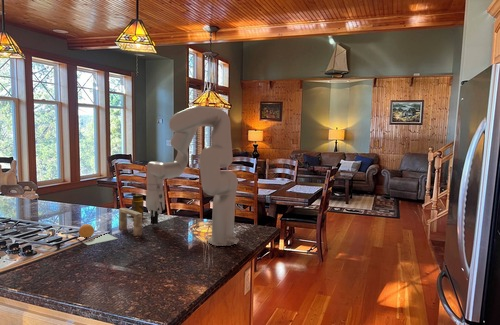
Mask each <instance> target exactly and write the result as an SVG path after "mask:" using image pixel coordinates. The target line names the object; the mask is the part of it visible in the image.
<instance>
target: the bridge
mask: <svg viewBox="0 0 500 325" xmlns="http://www.w3.org/2000/svg"><path fill="white" fill-rule="evenodd" d="M127 216H134V219H133V230H132V231H133V234H132V235H133V236H135V237H136V236H142V234H143V232H142V231H143V218H142V213H139V212H136V211H133V210H132V209H129V208H127V207H121V208H118V229H119V230H125V229H127V228H128V218H127Z"/></svg>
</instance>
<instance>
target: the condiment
mask: <svg viewBox="0 0 500 325" xmlns="http://www.w3.org/2000/svg"><path fill="white" fill-rule="evenodd" d="M131 210H133V211H136V212H139V213H142V219H144V218H146V216H145V215H144V196H143V194H133V195H132V200H131ZM127 219H129V220H134V216H131V215H127Z"/></svg>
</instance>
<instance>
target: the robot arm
mask: <svg viewBox="0 0 500 325" xmlns="http://www.w3.org/2000/svg"><path fill="white" fill-rule="evenodd" d="M168 124H169V125H168V126H169V129H170V130H171V132H173V135H172V138H171V139H170V145H171V147H172V148H173V149H175V150H176V151H177V154H176V157H175V159H174V160H173V161H168V162H162V161H155V160H154V161H153V160H152V161H149V162H148V163H147V166H146V194H145V208H146V209H147V211H148V212H149V216H150V224H151V225H157V224H159V216H160V214H162V213H163V212H162V211H164V210H165V208H166V206H165V204H166V202H165V192H164V180H165V179H166V180H167V179H171V178H178V177H180V176H181V175H182V174H183V173H184V172H185V169H186V167H187V165H188V163H189V151H188V149H189V147H190V145H191V143H192V141H193V139H194V137H195V136H196V133H197V131H198V129H199V127H210V128H211V127H212V131H211V135H210V138H211V139H210V141H211V145H207V146H205V147H204V148H202V150H201V151H200V155H199V172H200V182H201V188H202V190H203V192H204V193H205V194H206V195H208V196H213V199H212V200H213V201H212V215H211V216H212V220H211V222H212V223H211V237H210V238H208V240H207V243H208V244H209V243H210V244H212V245H222V246H223V245H231V243H232V244H236V245H237V244H238V242H240V239H239V238H238V237H236V233H235V212H236V211H235V210H236V209H235V208H236V197H237V196H236V195H237V191H238V186H239V185H238V184H239V179H238V176H237V175H236V173H235V172H234V171H231V170H227V169H226V170H225V169H224V170H221V168H222V169H223V168H226V167H227V168H228V167H229V166H230V165H232V163H233V160H234V157H233V156H234V155H233V145H232V144H233V143H232V135H231V119H230V116H229V115H228V113H227V112H226V111H224V110H223V109H220V108H217V107H213V106H207V105H206V106H205V105H193V106H191V107H188V108H185V109H184V110H183V109H182V110H181V111H178V112H176V113H174V114H173V115H172V116H171V118H170V119H169V123H168ZM210 244H209V245H210ZM212 245H211V246H212Z"/></svg>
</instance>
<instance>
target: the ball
mask: <svg viewBox="0 0 500 325" xmlns="http://www.w3.org/2000/svg"><path fill="white" fill-rule="evenodd" d="M94 232H95V229H94V226H93V225H91V224H90V223H89V224H88V223H86V224H83V225H81V226H79V229H78V235H79V236H81V237H84V238H86V237H87V238H89V237H91V236H92V235H93V234H95V233H94Z"/></svg>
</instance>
